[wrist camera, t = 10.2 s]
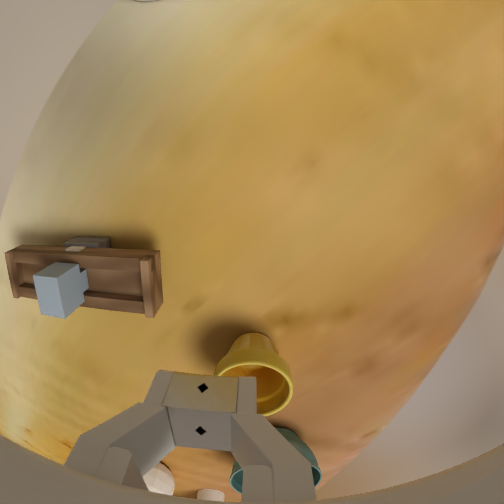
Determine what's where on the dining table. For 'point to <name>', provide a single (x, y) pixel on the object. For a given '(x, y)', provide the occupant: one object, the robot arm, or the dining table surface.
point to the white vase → (159, 480)
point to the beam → (95, 273)
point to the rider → (60, 288)
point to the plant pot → (259, 370)
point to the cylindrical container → (210, 495)
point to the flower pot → (292, 438)
